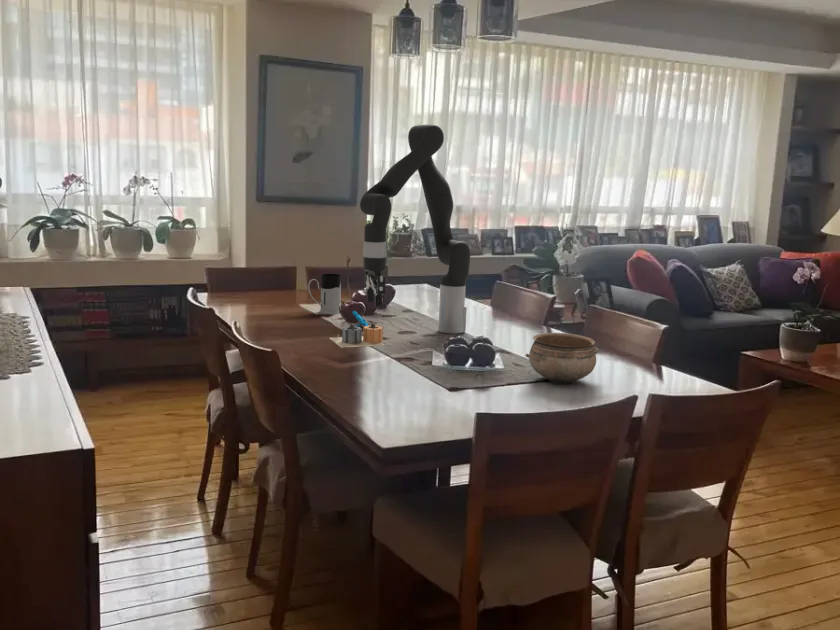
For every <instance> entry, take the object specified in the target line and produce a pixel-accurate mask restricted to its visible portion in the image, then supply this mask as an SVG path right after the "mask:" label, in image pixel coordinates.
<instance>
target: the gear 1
mask: <svg viewBox="0 0 840 630" xmlns="http://www.w3.org/2000/svg"><path fill="white" fill-rule="evenodd" d="M362 336H363V327H362V326H361V327H355V329H354V330H353V329H350V326H344V327H342V328H341V337H342V342H343V343H349V344H355V343H356V344H358V343H360V342H362Z"/></svg>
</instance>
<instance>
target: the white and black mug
mask: <svg viewBox="0 0 840 630" xmlns="http://www.w3.org/2000/svg"><path fill="white" fill-rule="evenodd" d="M313 281H315V282H317V283H316V284H317V288H318V290H320V302H319V301H317V300H316V299H315V298H314V297H313V295H312V292H311V286H310V285H311V282H313ZM341 287H342V283H341V274H339V273H322V274H321V286H320V282H319V281H318V280H317V279H315V278H312V279H310V280H309V282H308V287H307V290H308V293H309V295H310V297H311V298H312V300H314V301H315V302H316V303H317V304H318V305H319V306H320V309H319V313H320V314H323V315H339V314H340V313H339V306H340V307H341V301H342V300H341V298H342V297H341V293H342V290H341Z"/></svg>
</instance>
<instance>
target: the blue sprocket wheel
mask: <svg viewBox="0 0 840 630" xmlns="http://www.w3.org/2000/svg"><path fill="white" fill-rule="evenodd" d="M352 315H353V316H354V317H355V319H356V320H357V321H358V322H357V325H355V327H361V328H362V326H363V327H364V326H370V325H371V324H370V325H369V323H368V322H367V321H366V319H365V318H364V317H362V315H360V314H359V313H358V312H357V311H356V310H353V311H352Z"/></svg>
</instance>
